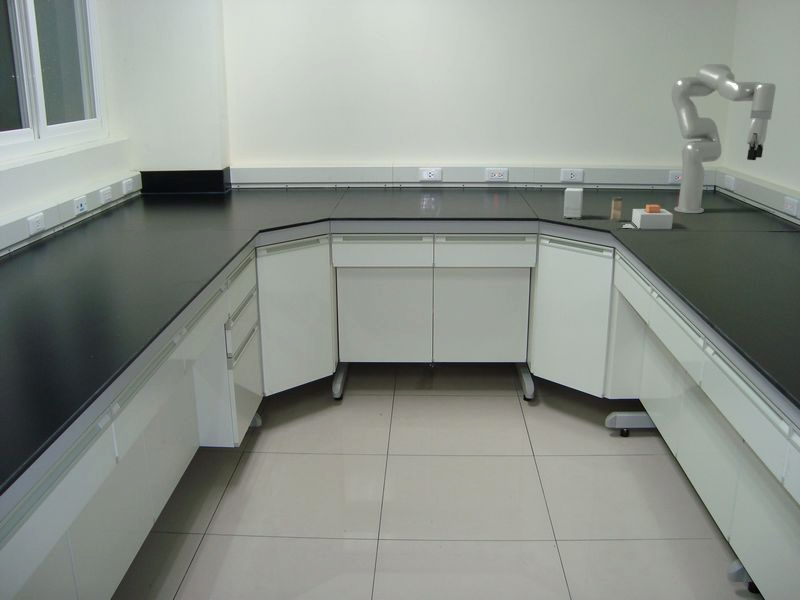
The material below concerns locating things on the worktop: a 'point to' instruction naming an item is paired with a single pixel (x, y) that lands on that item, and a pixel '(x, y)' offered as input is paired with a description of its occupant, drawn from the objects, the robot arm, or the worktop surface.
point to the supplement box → (573, 202)
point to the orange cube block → (652, 209)
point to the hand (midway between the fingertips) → (754, 158)
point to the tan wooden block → (616, 208)
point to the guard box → (652, 219)
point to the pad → (628, 226)
